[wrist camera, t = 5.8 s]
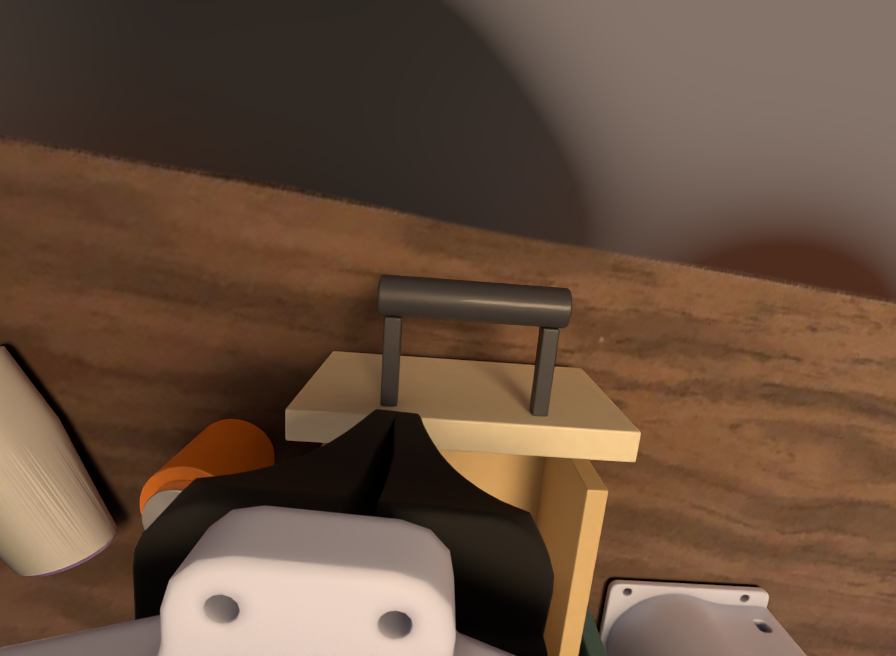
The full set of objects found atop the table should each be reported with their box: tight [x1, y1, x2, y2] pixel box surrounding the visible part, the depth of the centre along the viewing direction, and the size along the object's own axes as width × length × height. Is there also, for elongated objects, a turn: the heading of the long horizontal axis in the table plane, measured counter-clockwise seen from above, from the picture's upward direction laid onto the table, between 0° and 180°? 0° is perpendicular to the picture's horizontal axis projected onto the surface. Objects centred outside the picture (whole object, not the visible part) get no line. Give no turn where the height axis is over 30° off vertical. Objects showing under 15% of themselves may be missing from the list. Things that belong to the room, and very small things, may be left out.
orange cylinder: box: [140, 419, 275, 530], centre depth 22 cm, size 4×4×6 cm
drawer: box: [285, 275, 641, 656], centre depth 20 cm, size 17×12×7 cm
